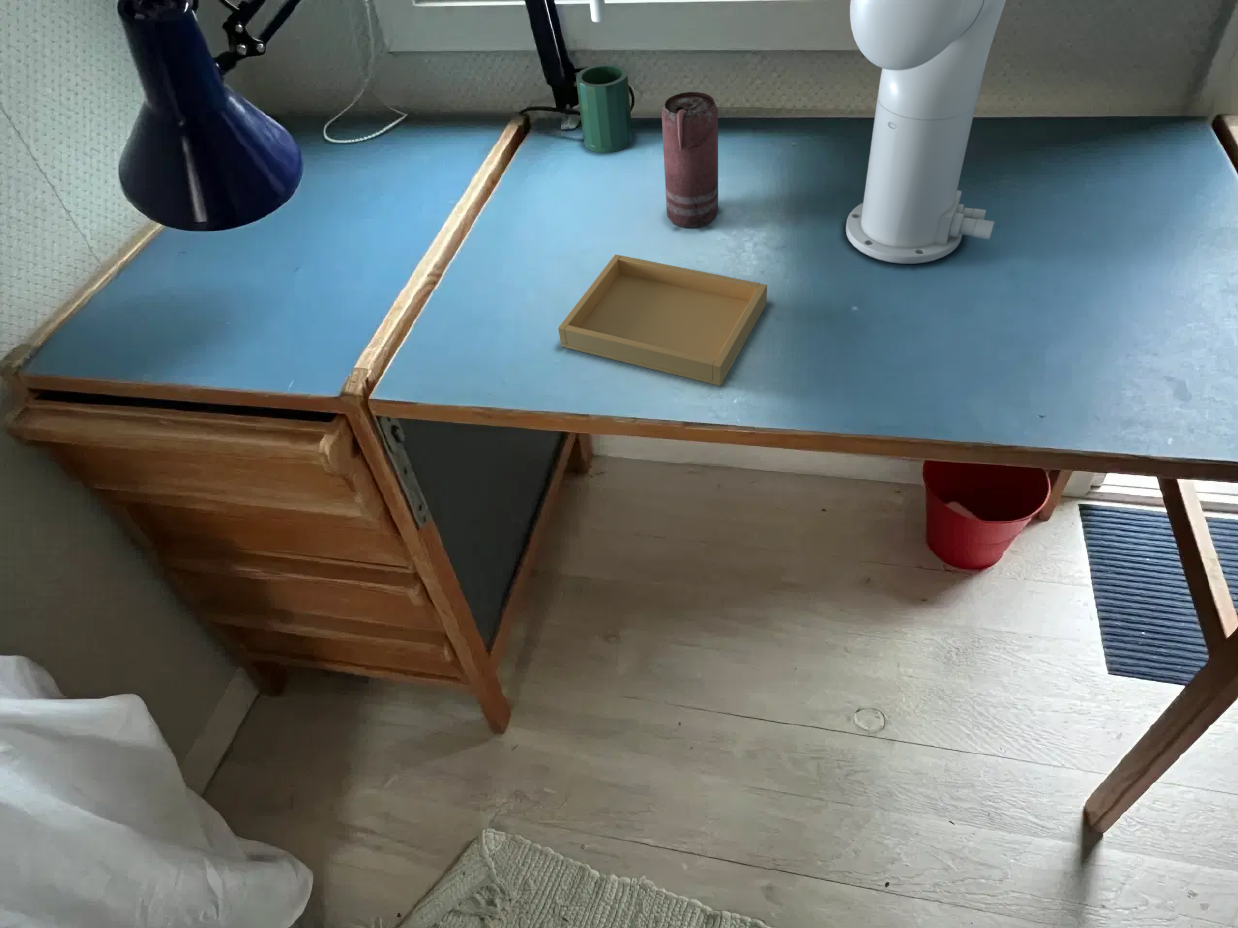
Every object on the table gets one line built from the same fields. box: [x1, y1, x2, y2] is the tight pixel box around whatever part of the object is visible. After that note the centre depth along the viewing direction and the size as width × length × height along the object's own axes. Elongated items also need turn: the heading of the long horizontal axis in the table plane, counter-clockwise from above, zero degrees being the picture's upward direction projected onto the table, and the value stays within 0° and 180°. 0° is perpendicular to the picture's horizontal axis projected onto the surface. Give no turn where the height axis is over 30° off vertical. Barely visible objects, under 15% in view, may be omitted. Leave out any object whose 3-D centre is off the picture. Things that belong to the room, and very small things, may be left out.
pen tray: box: [557, 253, 768, 387], centre depth 90 cm, size 18×14×2 cm
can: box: [661, 91, 719, 230], centre depth 100 cm, size 6×6×14 cm
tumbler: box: [575, 63, 633, 154], centre depth 116 cm, size 7×7×9 cm
